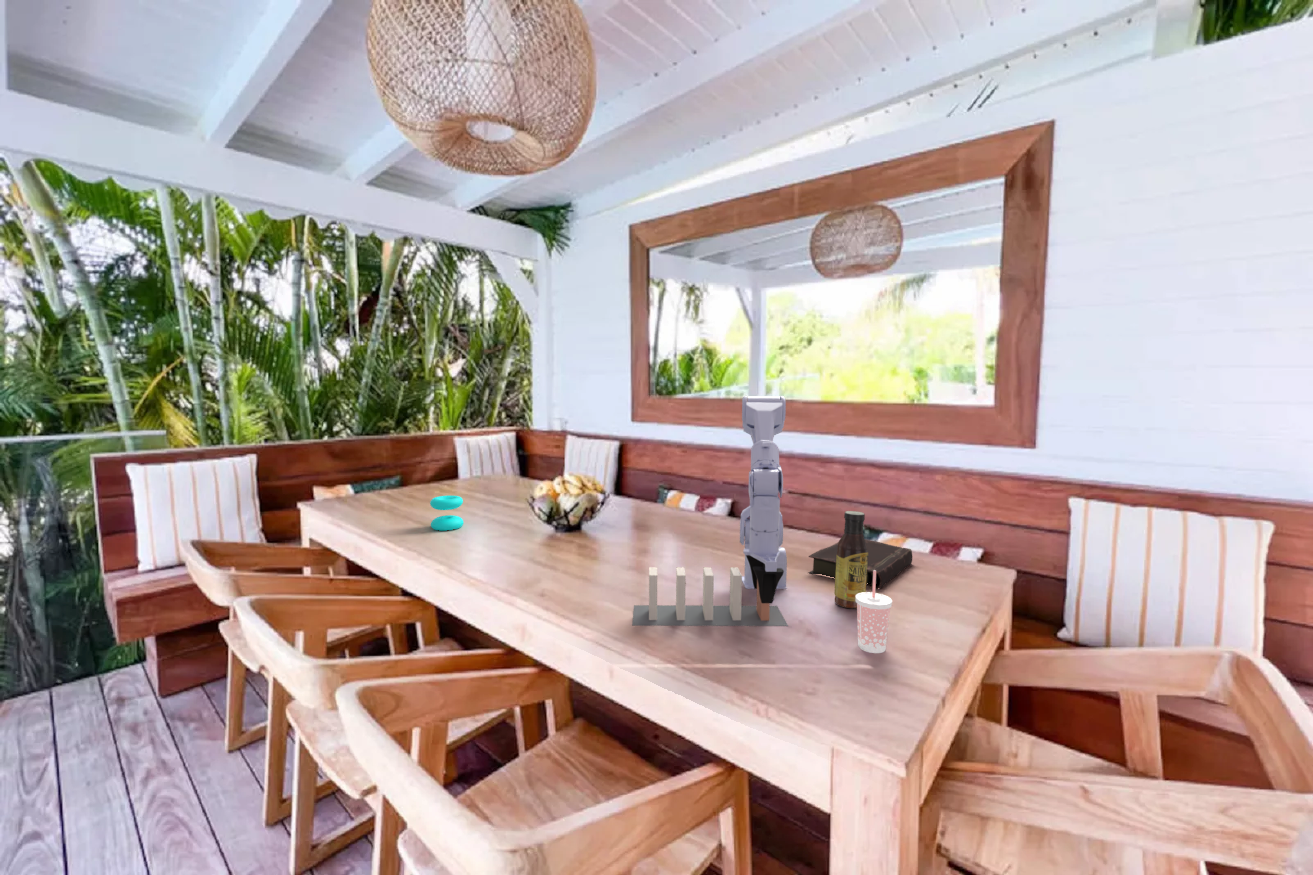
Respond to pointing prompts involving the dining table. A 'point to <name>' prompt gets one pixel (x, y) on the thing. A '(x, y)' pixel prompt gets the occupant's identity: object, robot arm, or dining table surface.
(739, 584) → the domino
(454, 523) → the donuts
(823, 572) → the diary
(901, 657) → the dining table surface
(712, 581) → the domino
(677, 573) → the domino
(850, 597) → the sauce bottle
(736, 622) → the slate mat
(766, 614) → the terracotta domino
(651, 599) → the domino
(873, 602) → the beverage cup
